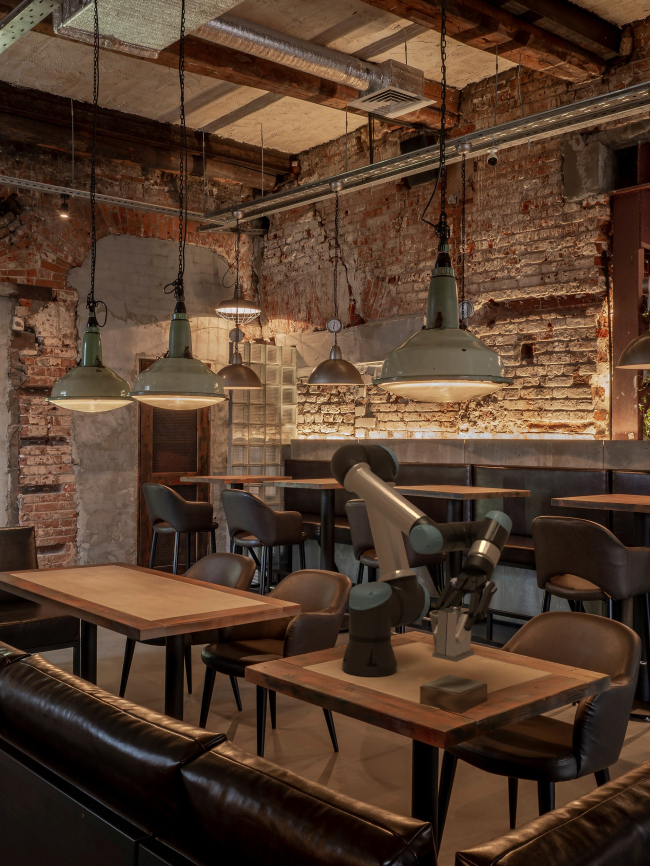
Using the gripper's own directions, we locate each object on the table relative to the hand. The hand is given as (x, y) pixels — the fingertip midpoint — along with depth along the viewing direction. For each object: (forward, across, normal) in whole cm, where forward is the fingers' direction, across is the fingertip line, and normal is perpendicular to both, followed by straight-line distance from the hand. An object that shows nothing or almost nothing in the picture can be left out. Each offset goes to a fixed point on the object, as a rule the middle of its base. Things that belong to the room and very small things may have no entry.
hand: (447, 638), depth 190 cm
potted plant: (-22, +27, -45) cm, 57 cm away
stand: (+9, 0, -14) cm, 16 cm away
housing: (+1, 0, -6) cm, 6 cm away
